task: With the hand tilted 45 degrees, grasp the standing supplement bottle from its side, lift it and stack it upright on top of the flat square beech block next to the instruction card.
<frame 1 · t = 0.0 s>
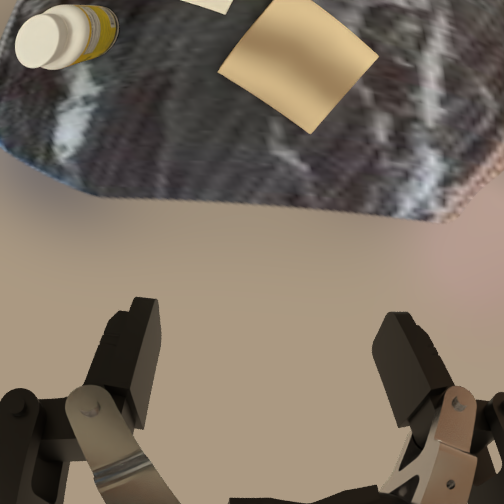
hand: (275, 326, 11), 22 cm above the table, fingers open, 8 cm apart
supplement bottle: (95, 32, 21), on the table
beech block: (293, 56, 24), on the table
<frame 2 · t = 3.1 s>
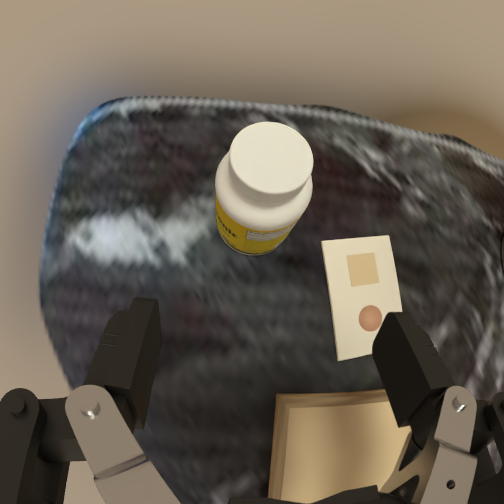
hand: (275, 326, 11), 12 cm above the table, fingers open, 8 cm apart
supplement bottle: (251, 222, 24), on the table
instruction card: (365, 295, 23), on the table
beech block: (331, 447, 20), on the table
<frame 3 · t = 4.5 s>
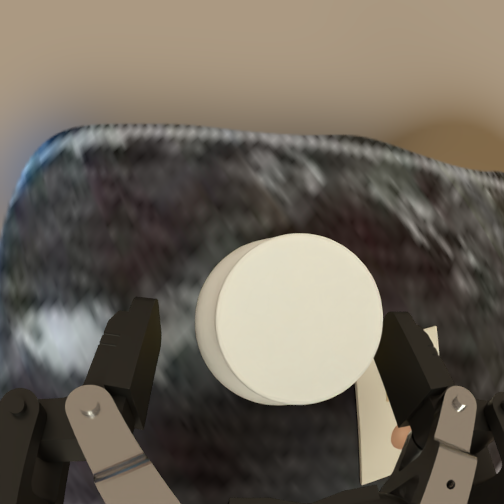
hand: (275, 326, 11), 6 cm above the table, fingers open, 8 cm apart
supplement bottle: (256, 324, 16), on the table
instruction card: (401, 407, 16), on the table
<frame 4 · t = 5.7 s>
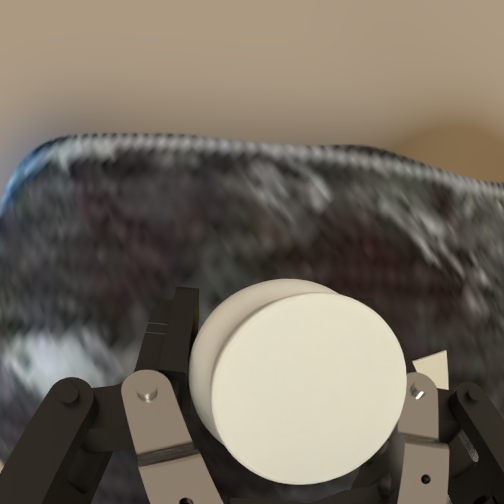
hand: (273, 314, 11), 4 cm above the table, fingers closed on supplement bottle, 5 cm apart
supplement bottle: (257, 354, 15), on the table, touching gripper
instruction card: (407, 434, 14), on the table
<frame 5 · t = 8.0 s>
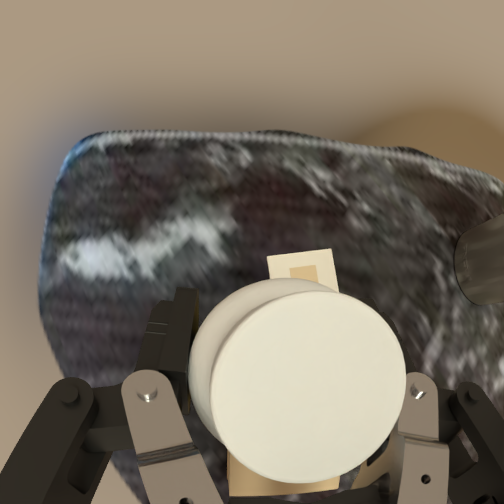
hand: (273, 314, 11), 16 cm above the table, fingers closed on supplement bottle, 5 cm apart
supplement bottle: (256, 354, 15), point 12 cm above the table, touching gripper
instruction card: (307, 302, 28), on the table
beech block: (280, 433, 25), on the table
when the fingers open (9 cm above the table, at t = 10.6 s): supplement bottle stays where it is, resting on beech block.
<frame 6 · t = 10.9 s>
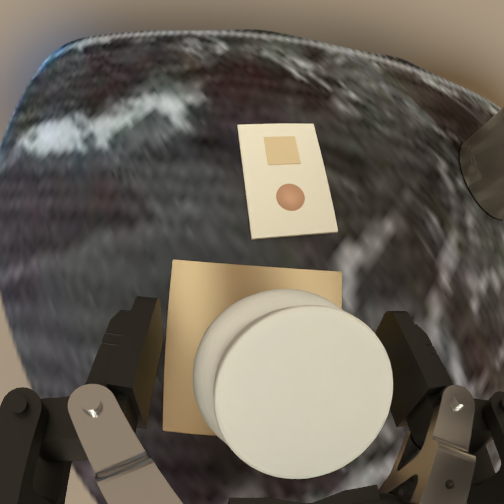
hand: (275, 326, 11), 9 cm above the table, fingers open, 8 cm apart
supplement bottle: (257, 357, 16), point 4 cm above the table, touching beech block
instruction card: (285, 176, 22), on the table
beech block: (248, 349, 19), on the table
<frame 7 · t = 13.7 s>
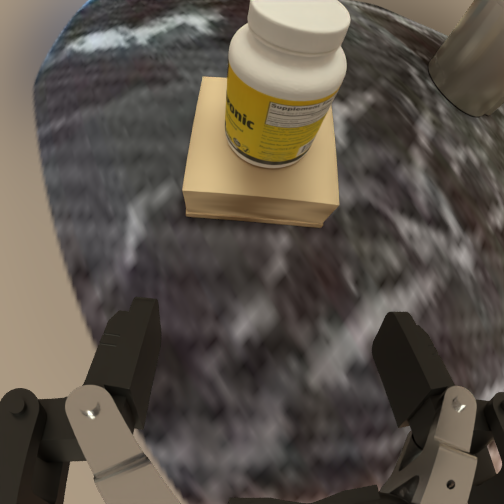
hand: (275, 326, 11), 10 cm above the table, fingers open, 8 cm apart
supplement bottle: (267, 135, 19), point 4 cm above the table, touching beech block
beech block: (258, 162, 23), on the table
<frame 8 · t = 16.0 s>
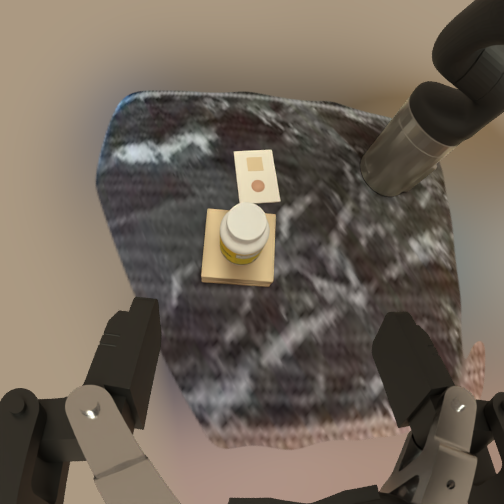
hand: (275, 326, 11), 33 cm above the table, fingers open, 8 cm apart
supplement bottle: (240, 246, 41), point 4 cm above the table, touching beech block
instruction card: (256, 176, 48), on the table
beech block: (237, 251, 45), on the table
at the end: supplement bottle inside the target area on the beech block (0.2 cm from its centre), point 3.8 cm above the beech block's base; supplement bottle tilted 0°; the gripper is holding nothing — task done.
